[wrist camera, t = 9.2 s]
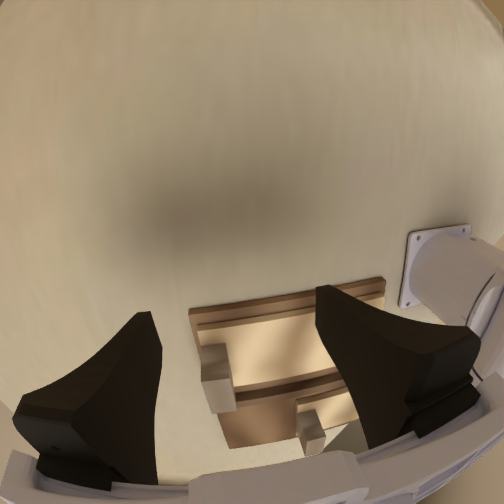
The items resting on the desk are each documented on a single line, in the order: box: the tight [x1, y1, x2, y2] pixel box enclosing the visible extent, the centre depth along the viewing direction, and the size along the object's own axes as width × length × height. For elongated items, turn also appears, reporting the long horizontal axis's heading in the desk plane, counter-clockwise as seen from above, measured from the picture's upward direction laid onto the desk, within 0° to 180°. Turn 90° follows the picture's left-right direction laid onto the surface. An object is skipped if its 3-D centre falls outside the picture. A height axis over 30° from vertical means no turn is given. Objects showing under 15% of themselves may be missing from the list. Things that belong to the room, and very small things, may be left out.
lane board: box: [189, 277, 386, 449], centre depth 26 cm, size 17×22×2 cm
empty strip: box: [197, 292, 385, 414], centre depth 21 cm, size 16×7×5 cm, turn 95°
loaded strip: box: [295, 387, 359, 457], centre depth 27 cm, size 16×7×5 cm, turn 95°
